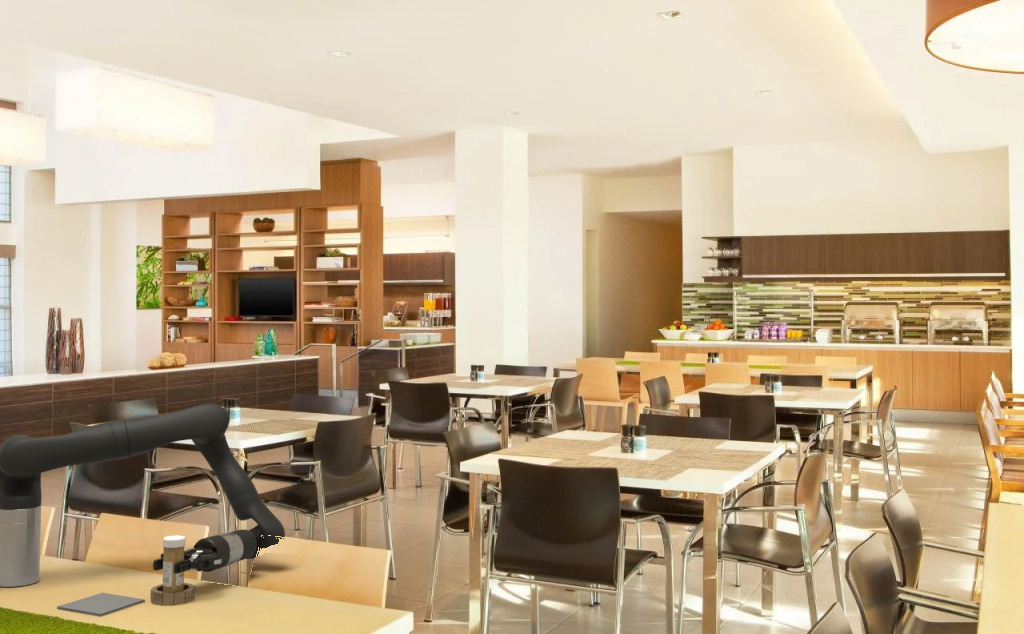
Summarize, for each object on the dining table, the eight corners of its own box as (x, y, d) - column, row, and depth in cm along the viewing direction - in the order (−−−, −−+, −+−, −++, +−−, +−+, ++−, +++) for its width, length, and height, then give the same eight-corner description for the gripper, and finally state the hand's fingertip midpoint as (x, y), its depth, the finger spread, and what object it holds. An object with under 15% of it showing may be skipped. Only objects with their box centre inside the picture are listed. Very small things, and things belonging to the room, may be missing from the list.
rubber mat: (57, 608, 200) (57, 606, 200) (102, 594, 211) (102, 592, 211) (100, 616, 196) (100, 614, 196) (144, 601, 207) (144, 599, 207)
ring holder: (142, 602, 206) (142, 590, 206) (171, 592, 214) (171, 580, 214) (174, 607, 203) (174, 595, 203) (203, 597, 211) (203, 585, 211)
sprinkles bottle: (186, 600, 208) (187, 537, 208) (164, 603, 205) (166, 540, 206) (180, 595, 212) (182, 534, 212) (159, 598, 209) (160, 536, 210)
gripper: (194, 531, 225) (139, 546, 209) (244, 538, 219) (191, 553, 204) (193, 564, 225) (138, 581, 209) (243, 571, 219) (190, 589, 203)
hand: (165, 567), depth 206 cm, fingers open, 5 cm apart
